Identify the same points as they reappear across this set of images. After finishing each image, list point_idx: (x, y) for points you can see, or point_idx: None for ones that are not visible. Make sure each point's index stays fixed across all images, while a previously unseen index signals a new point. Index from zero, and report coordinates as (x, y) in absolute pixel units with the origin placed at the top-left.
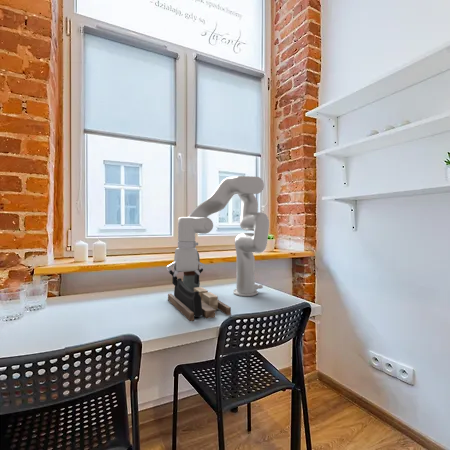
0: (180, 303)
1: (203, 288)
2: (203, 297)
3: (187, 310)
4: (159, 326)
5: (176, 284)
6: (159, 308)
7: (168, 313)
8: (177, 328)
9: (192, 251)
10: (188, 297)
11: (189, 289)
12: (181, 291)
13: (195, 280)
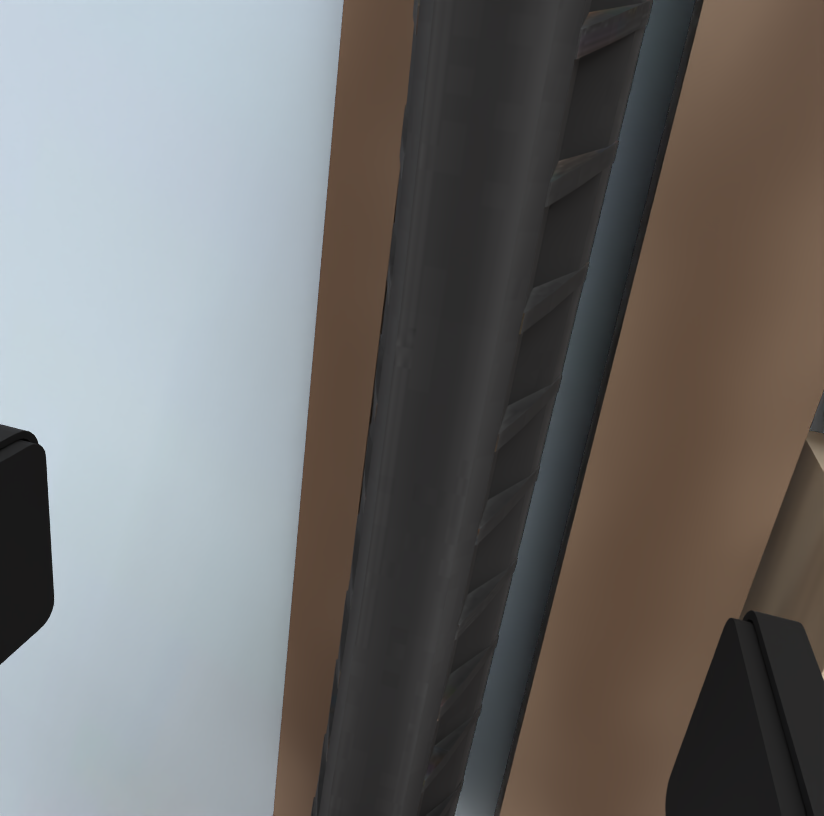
0: (328, 443)
1: None
2: (821, 581)
3: (285, 756)
4: (11, 678)
5: (8, 643)
6: (123, 98)
7: (180, 406)
8: (138, 811)
9: None
10: (322, 747)
11: (406, 691)
12: (386, 298)
13: (710, 784)
